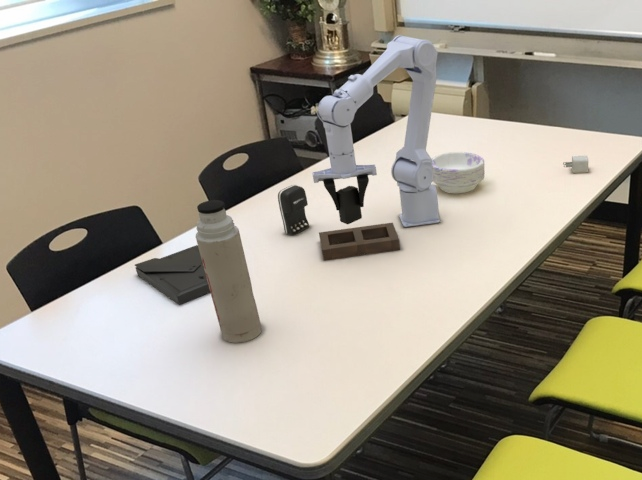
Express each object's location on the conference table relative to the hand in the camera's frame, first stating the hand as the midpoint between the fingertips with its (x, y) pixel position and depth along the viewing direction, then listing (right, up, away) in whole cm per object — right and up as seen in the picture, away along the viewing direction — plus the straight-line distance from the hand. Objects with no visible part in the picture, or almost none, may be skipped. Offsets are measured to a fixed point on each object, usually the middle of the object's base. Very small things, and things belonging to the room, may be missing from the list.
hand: (349, 207), depth 189 cm
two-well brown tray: (+1, -8, +6) cm, 10 cm away
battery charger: (-15, -3, +15) cm, 22 cm away
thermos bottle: (-18, -31, -25) cm, 44 cm away
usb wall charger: (+58, +19, +42) cm, 74 cm away
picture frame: (-36, -17, -4) cm, 40 cm away
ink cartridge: (0, -3, +2) cm, 4 cm away
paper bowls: (+25, +13, +35) cm, 44 cm away
